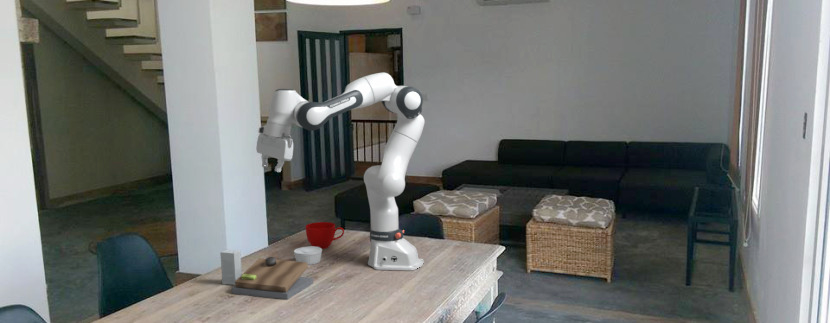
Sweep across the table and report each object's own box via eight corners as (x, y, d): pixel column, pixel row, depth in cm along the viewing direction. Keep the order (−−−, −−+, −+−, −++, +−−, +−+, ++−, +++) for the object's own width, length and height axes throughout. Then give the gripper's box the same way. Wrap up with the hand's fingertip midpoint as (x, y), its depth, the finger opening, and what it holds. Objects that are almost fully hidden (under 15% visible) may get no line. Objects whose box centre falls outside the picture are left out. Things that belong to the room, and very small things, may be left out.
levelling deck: (307, 267, 226) (306, 257, 224) (286, 292, 212) (284, 281, 210) (260, 263, 232) (258, 253, 231) (235, 286, 218) (233, 276, 217)
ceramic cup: (342, 250, 271) (342, 228, 270) (303, 251, 272) (302, 228, 270) (346, 243, 284) (345, 221, 283) (309, 243, 285) (308, 222, 283)
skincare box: (242, 281, 231) (241, 250, 229) (235, 285, 227) (234, 253, 225) (228, 280, 233) (226, 249, 231) (221, 284, 229) (219, 252, 227)
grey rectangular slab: (313, 283, 228) (312, 277, 228) (287, 299, 211) (287, 293, 211) (260, 278, 235) (260, 272, 235) (232, 293, 218) (231, 287, 218)
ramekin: (289, 264, 252) (288, 252, 251) (304, 257, 262) (303, 245, 262) (313, 267, 248) (312, 254, 247) (327, 259, 258) (326, 247, 258)
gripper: (300, 136, 222) (293, 175, 223) (271, 130, 237) (265, 165, 237) (285, 134, 218) (277, 173, 218) (256, 127, 233) (250, 164, 233)
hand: (270, 169), depth 228 cm, fingers open, 8 cm apart
